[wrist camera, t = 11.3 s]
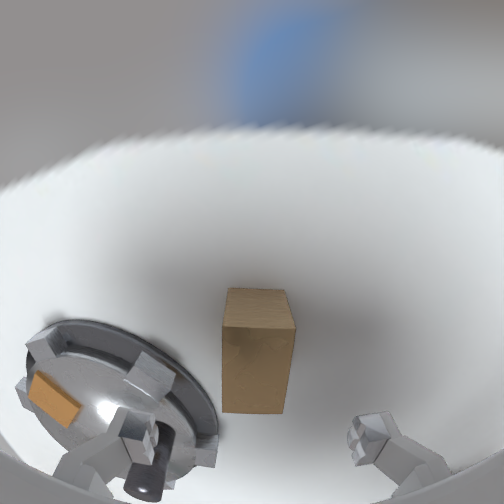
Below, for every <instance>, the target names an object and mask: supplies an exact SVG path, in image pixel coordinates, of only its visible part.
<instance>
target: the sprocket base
mask: <svg viewBox="0 0 504 504" xmlns="http://www.w3.org/2000/svg"><path fill="white" fill-rule="evenodd" d="M56 326H57V328H58V330H59V331H60V333H61V335H62V336H63V338H64V340H65V341H66V343H67V345H78V346H86V347H90V348H94V349H98V350H101V351H104V352H107V353H110V354H112V355H114V356H117V357H119V358H121V359H124V360H125V361H127V362H129V363H131V364H132V363H133V362H134V361H135V359H136V358H137V357H138V355H139V354H140V353H141V351H143V352H145V353H146V354H148V355H149V356H151V357H152V358H153V359H155V360H156V361H158V362H159V363H161V364H162V365H164V366H165V367H167V368H168V369H170V370H171V371H173V372H174V373H176V375H175V378H174V381H173V384H172V388H171V390H170V391H171V392H172V393H173V394H174V395H175V396H176V397H177V398H178V399H179V400H180V401H181V402H182V403H183V405H184V406H185V407H186V408H187V410H188V411H189V413H190V414H191V416H192V417H193V419H194V422H195V424H196V426H197V430H198V432H201V433H208V434H214V435H217V428H218V424H217V417H216V414H215V411H214V408H213V405H212V403H211V402H210V400H209V398H208V396H207V395H206V393H205V392H204V390H203V389H202V388H201V386H200V385H199V384H198V383H197V382H196V380H195V379H194V378H193V377H192V376H191V375H190V374H189V373H188V372H187V371H186V370H185V369H184V368H183V367H181V366H180V365H179V364H178V363H177V362H176V361H174V360H173V359H172V358H170V357H169V356H168V355H166V354H165V353H164V352H162V351H161V350H159V349H157V348H156V347H154V346H153V345H151V344H150V343H148V342H146V341H144V340H142V339H140V338H138V337H137V336H135V335H132V334H130V333H128V332H125V331H123V330H121V329H118V328H115V327H112V326H109V325H106V324H102V323H98V322H93V321H85V320H66V321H62V322H58V323H55V324H53V325H51V326H49V327H47V328H46V329H45V330H48V329H50V328H53V327H56ZM45 330H43V331H45ZM35 363H36V361H35V360H34V358H33V356H32V355H31V353H30V352H29V350H28V353H27V358H26V368H27V375H28V372H29V370H30V369H31V368H32V367H33V366H34V364H35ZM196 466H198V465H194V466H193V467H196Z"/></svg>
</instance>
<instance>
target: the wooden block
mask: <svg viewBox="0 0 504 504" xmlns="http://www.w3.org/2000/svg"><path fill="white" fill-rule="evenodd" d="M295 332H296V327H295V324H294V321H293V317H292V314H291V311H290V307H289V304H288V301H287V298H286V294H285V291H284V290H269V289H245V288H228V294H227V300H226V306H225V312H224V318H223V325H222V412H223V413H243V414H282V413H283V408H284V402H285V396H286V390H287V384H288V378H289V372H290V366H291V359H292V353H293V346H294V339H295Z"/></svg>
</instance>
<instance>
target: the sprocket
mask: <svg viewBox="0 0 504 504" xmlns="http://www.w3.org/2000/svg"><path fill="white" fill-rule="evenodd" d="M25 345H26V347H27V348H28V350H29V352H30V353H31V355H32V356H33V358H34V360H35V361H36V363H35V364H34V366H33V367H32V368H31V369H30V370H29V372H28V375H27V378H26V377H23V378H22V379H21V380H20V382H19V383H18V384H17V385H16V386H15V389H16V391H17V394H18V396H19V399H20V401H21V403H22V406H23V407H24V408H26V409H28V410H29V411H31V412H33V413H35V415H36V416H37V418H38V420H39V421H40V422H41V424H42V425H43V427H44V428H45V429H46V430H47V431H48V433H49V434H50V435H51V436H52V437H53V438H54V439H55V440H56V441H57V442H58V443H59V444H60V445H62V446H63V447H64V448H65V449H66V450H68V451H69V452H70V451H71V450H73V449H75V448H77V447H79V446H80V445H82V444H84V443H86V442H87V441H89V440H91V439H93V438H94V437H96V436H98V435H99V434H101V433H106V431H107V429H108V427H109V425H110V422H111V420H112V418H113V416H114V414H115V411H116V409H117V408H118V407H119V406H120V407H124V408H129V409H134V410H139V411H144V412H149V413H154V414H155V418H156V420H155V424H156V425H157V426H158V432H159V435H158V442H157V446H155V447H154V448H153V450H154V453H155V454H154V458H153V461H152V465H146V464H140V463H135V462H132V463H131V464H130V465H129V466H128V467H127V468H125V469H124V470H123V471H122V472H121V473H119V474H118V475H117V476H116V477H119V478H123V479H126V481H125V484H124V487H123V489H124V491H125V492H126V493H128V494H129V495H131V496H132V497H134V498H137V499H139V500H142V501H146V502H159V501H161V498H162V493H163V490H165V489H174V486H175V481H176V480H177V479H179V478H181V477H183V476H185V475H186V474H188V473H189V472H190V471H191V469H192V468H193V466H194V465H198V466H204V467H211V468H215V462H216V456H217V450H218V439H219V435H214V434H208V433H201V432H198V430H197V426H196V424H195V422H194V419H193V417H192V416H191V414H190V413H189V411H188V410H187V408H186V407H185V406H184V405H183V403H182V402H181V401H180V400H179V399H178V398H177V397H176V396H175V395H174V394H173V393H172V392H171V391H170V390H171V388H172V384H173V381H174V378H175V375H176V373H174V372H173V371H171V370H170V369H168V368H167V367H165V366H164V365H162V364H161V363H159V362H158V361H156V360H155V359H153V358H152V357H151V356H149V355H148V354H146V353H145V352H143V351H141V353H140V354H139V355H138V357H137V358H136V359H135V361H134V362H133V363H132V364H131V363H129V362H127V361H125V360H124V359H121V358H119V357H117V356H114V355H112V354H110V353H107V352H104V351H101V350H98V349H94V348H90V347H86V346H78V345H67V343H66V341H65V340H64V338H63V336H62V335H61V333H60V331H59V330H58V328H57V326H56V327H53V328H50V329H48V330H45V331H42V332H39V333H37V334H36V335H34V336H33V337H32V338H31V339H30V340H29V341H28V342H27V343H26V344H25Z"/></svg>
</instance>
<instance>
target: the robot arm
mask: <svg viewBox="0 0 504 504" xmlns="http://www.w3.org/2000/svg"><path fill="white" fill-rule="evenodd" d="M155 420H156V418H155V414H154V413H149V412H144V411H139V410H134V409H129V408H124V407H120V406H119V407H118V408H117V409H116V411H115V414H114V416H113V418H112V420H111V422H110V425H109V427H108V429H107V431H106V433H101V434H99V435H98V436H96V437H94V438H93V439H91V440H89V441H87V442H86V443H84V444H82V445H80V446H79V447H77V448H75V449H73V450H71V451H70V452H68V453H66V454H64V455H63V456H62V458H61V460H60V462H59V464H58V466H57V468H56V470H55V472H54V474H53V476H50V475H48V474H46V473H43V472H41V471H39V470H37V469H35V468H33V467H31V466H29V465H27V464H26V463H24V462H22V461H20V460H18V459H16V458H15V457H13V456H11V455H9V454H8V453H6V452H4V451H3V450H1V449H0V504H130V503H126V502H123V501H119V500H115V499H113V497H114V496H113V494H112V493H111V492H110V490H109V489H108V487H107V486H106V484H107V483H108V482H110V481H111V480H112V479H113V478H115V477H116V476H117V475H118V474H119V473H121V472H122V471H123V470H124V469H125V468H127V467H128V466H129V465H130V464H131V463H132V462H135V463H140V464H146V465H152V461H153V458H154V454H155V453H154V450H153V448H154V447H155V446H157V442H158V435H159V432H158V426H157V425H156V424H155ZM347 441H348V445H349V448H351V449H352V450H353V451H354V452H353V454H352V457H353V460H354V463H355V466H361V465H367V464H372V463H374V465H375V466H376V467H377V468H378V469H380V470H381V471H382V472H383V473H384V474H385V475H387V476H388V477H389V478H390V479H392V480H393V481H394V482H395V483H396V484H398V485H399V487H398V488H397V489H396V491H395V492H394V493H393V494H392V498H391V499H387V500H384V501H380V502H376V503H372V504H504V449H502V450H500V451H498V452H497V453H495V454H493V455H492V456H490V457H488V458H486V459H484V460H483V461H481V462H479V463H477V464H475V465H473V466H471V467H469V468H467V469H465V470H463V471H461V472H459V473H457V474H455V475H452V473H451V471H450V470H449V468H448V466H447V464H446V462H445V461H444V459H443V457H442V456H440V455H438V454H436V453H435V452H433V451H431V450H429V449H427V448H426V447H424V446H422V445H420V444H419V443H417V442H415V441H413V440H412V439H410V438H408V437H407V436H402V435H401V433H400V431H399V429H398V427H397V425H396V424H395V422H394V420H393V418H392V416H391V414H390V412H388V411H385V412H379V413H372V414H366V415H359V416H356V417H355V418H354V419H353V426H352V427H351V428H349V431H348V435H347Z"/></svg>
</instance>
